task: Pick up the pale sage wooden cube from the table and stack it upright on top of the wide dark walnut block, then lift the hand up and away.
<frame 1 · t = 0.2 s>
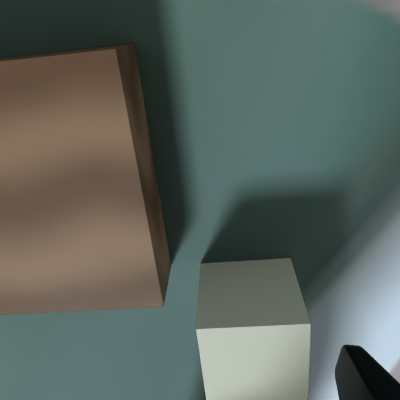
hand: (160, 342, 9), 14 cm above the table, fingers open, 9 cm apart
sage cube: (247, 295, 26), on the table
walnut block: (42, 178, 23), on the table
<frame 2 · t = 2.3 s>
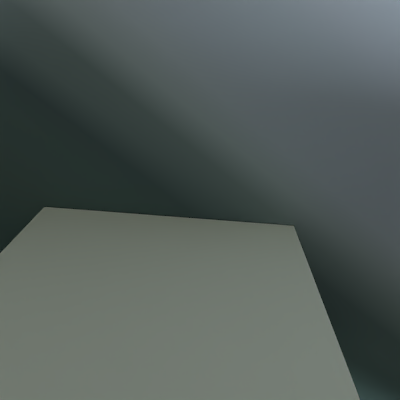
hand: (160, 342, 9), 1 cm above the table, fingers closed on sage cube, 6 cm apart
sage cube: (165, 312, 10), on the table, touching gripper
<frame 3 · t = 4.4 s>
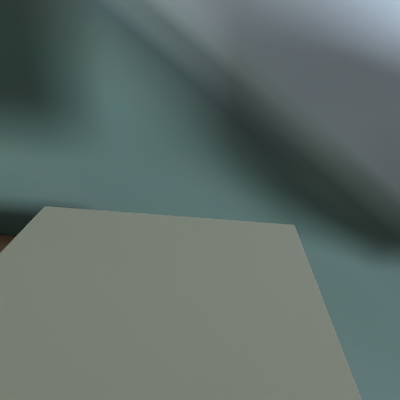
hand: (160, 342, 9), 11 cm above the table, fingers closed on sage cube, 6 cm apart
sage cube: (166, 312, 10), point 10 cm above the table, touching gripper
when the fingers open (6 cm above the table, at t = 6.7 s): sage cube drops 1 cm, resting on walnut block.
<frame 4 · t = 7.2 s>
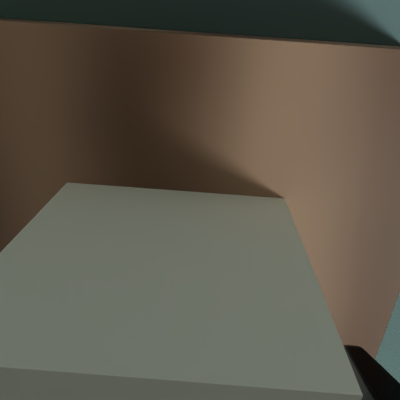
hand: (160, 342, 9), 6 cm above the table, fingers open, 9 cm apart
sage cube: (172, 279, 11), point 4 cm above the table, touching walnut block
walnut block: (181, 219, 15), on the table
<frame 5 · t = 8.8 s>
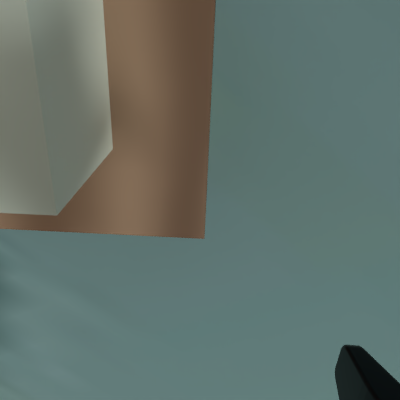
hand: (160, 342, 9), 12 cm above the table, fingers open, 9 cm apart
sage cube: (29, 69, 14), point 4 cm above the table, touching walnut block
walnut block: (66, 62, 18), on the table
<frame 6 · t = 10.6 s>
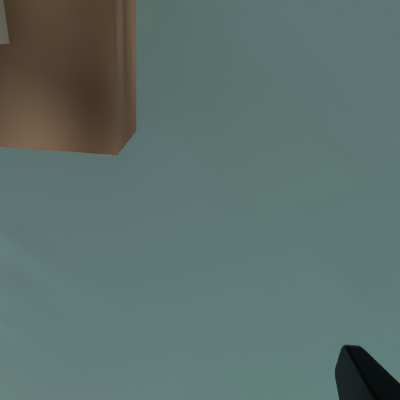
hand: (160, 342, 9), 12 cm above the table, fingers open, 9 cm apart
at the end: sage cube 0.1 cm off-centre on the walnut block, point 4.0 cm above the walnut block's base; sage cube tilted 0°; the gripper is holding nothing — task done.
